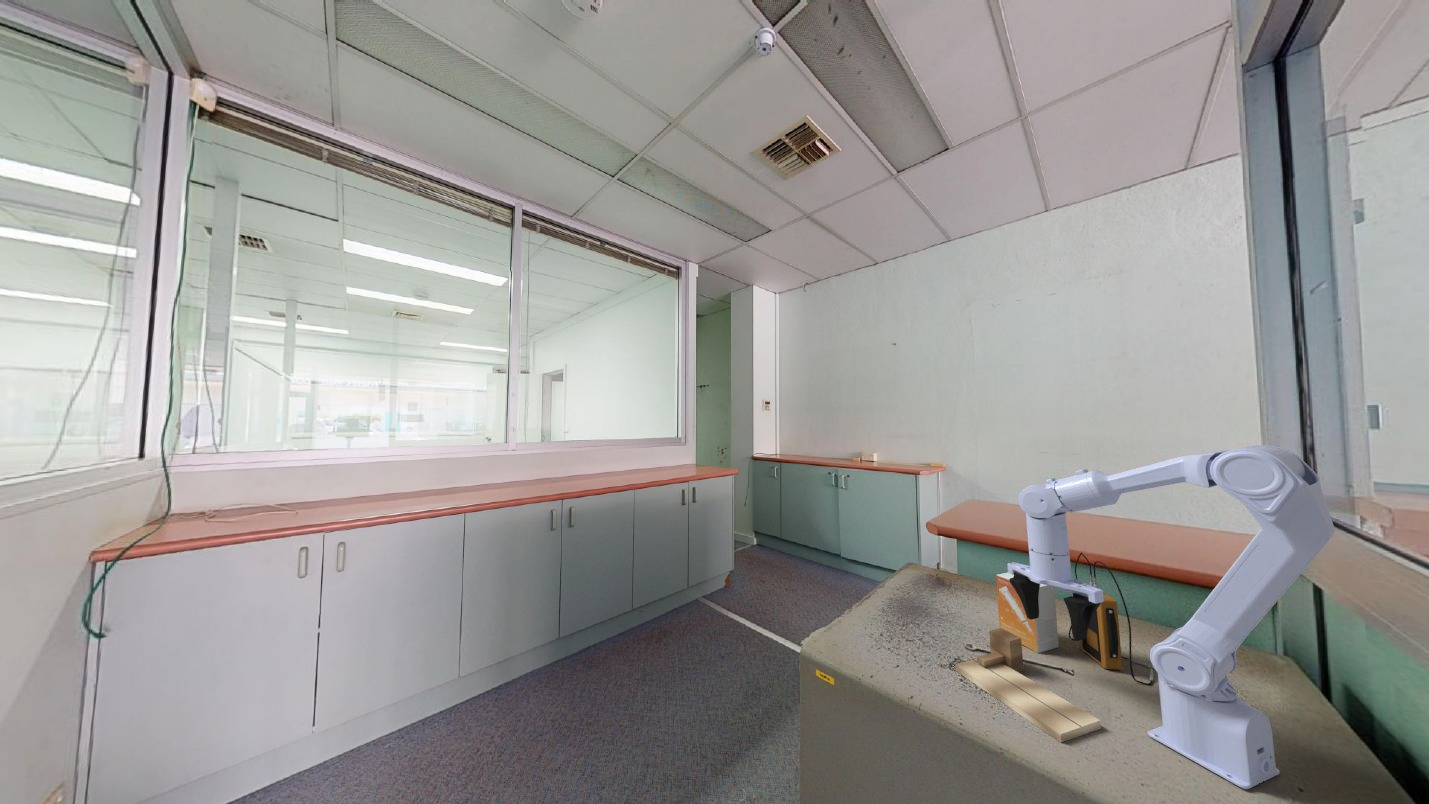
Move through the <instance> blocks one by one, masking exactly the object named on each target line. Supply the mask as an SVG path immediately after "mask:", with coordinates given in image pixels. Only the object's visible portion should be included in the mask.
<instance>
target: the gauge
mask: <svg viewBox="0 0 1429 804" xmlns="http://www.w3.org/2000/svg"><path fill="white" fill-rule="evenodd" d="M988 632H989V633H988V634H989V644H990V645H989V646H990V653H988V654H983V655H981V656H977V657H976V659H977V663H979V664H981V665H982V666H984V667H986V666H989V665H993V664H997V663H1000V662H1001V663H1003V664H1005V665H1006V666H1008V667H1010V668H1011V669H1013V670H1015V671H1016V672H1018V673H1020V672H1024V659H1023V658H1024V657H1023V645H1022V643H1021V638H1020V637H1018V636H1016V635H1014V634H1012V633H1010V632H1008V631H1006V630H1004V629H1002V628H995V629H991V630H989V631H988Z"/></svg>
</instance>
